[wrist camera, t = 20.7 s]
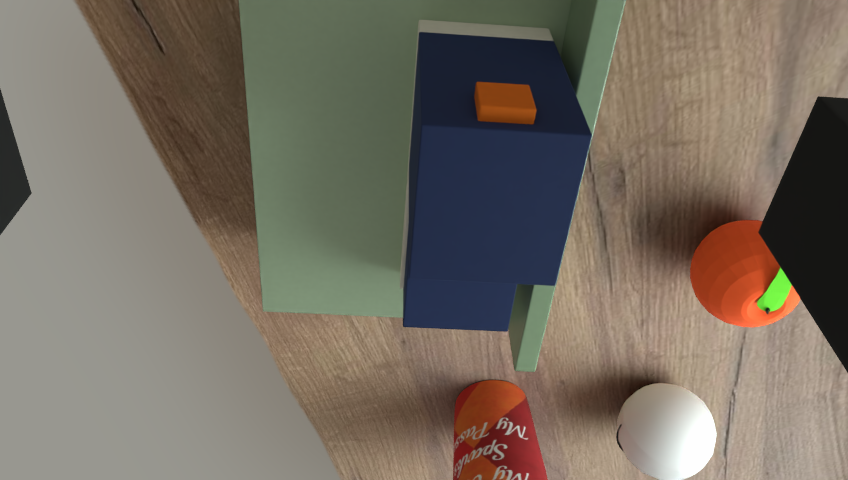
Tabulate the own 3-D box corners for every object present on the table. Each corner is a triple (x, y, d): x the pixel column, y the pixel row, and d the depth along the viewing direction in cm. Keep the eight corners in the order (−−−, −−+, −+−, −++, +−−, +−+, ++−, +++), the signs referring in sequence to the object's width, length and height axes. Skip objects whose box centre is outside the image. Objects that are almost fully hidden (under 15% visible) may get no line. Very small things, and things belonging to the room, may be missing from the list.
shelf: (279, 240, 49) (251, 360, 40) (260, -112, 36) (211, -48, 27) (513, 252, 50) (535, 372, 41) (578, -87, 37) (630, -17, 28)
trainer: (419, 5, 33) (422, 108, 25) (551, 14, 33) (597, 119, 25) (400, 272, 42) (397, 409, 34) (502, 277, 42) (524, 414, 34)
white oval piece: (604, 371, 58) (625, 448, 52) (699, 356, 57) (733, 433, 51) (610, 447, 63) (630, 525, 58) (697, 436, 63) (726, 513, 57)
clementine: (708, 178, 47) (749, 245, 41) (807, 193, 48) (861, 262, 42) (661, 272, 51) (692, 344, 46) (752, 285, 52) (793, 358, 47)
